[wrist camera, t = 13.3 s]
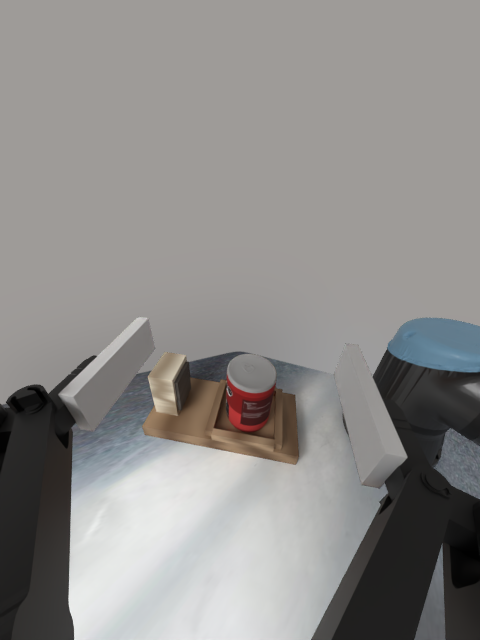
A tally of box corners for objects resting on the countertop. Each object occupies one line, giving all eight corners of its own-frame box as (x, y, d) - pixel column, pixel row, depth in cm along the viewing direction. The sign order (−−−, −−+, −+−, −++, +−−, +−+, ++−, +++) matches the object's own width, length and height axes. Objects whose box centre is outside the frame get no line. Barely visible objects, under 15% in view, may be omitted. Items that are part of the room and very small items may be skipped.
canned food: (240, 389, 45) (243, 347, 39) (275, 409, 42) (285, 366, 36) (216, 417, 40) (216, 373, 34) (255, 443, 36) (263, 399, 30)
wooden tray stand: (292, 402, 46) (304, 361, 40) (295, 464, 36) (311, 422, 30) (173, 382, 49) (166, 341, 43) (144, 434, 39) (131, 390, 33)
